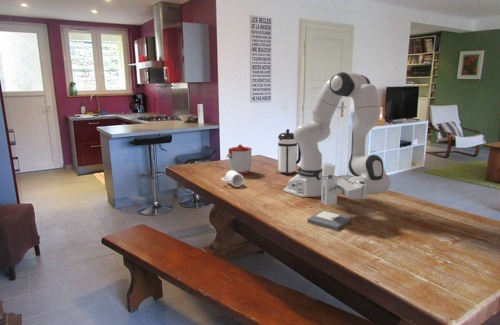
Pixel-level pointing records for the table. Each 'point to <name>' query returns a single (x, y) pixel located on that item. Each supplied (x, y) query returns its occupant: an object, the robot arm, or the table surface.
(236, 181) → the mug
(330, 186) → the aluminium block
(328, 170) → the white cup
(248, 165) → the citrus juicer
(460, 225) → the table surface
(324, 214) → the dock board
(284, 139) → the coffee press
